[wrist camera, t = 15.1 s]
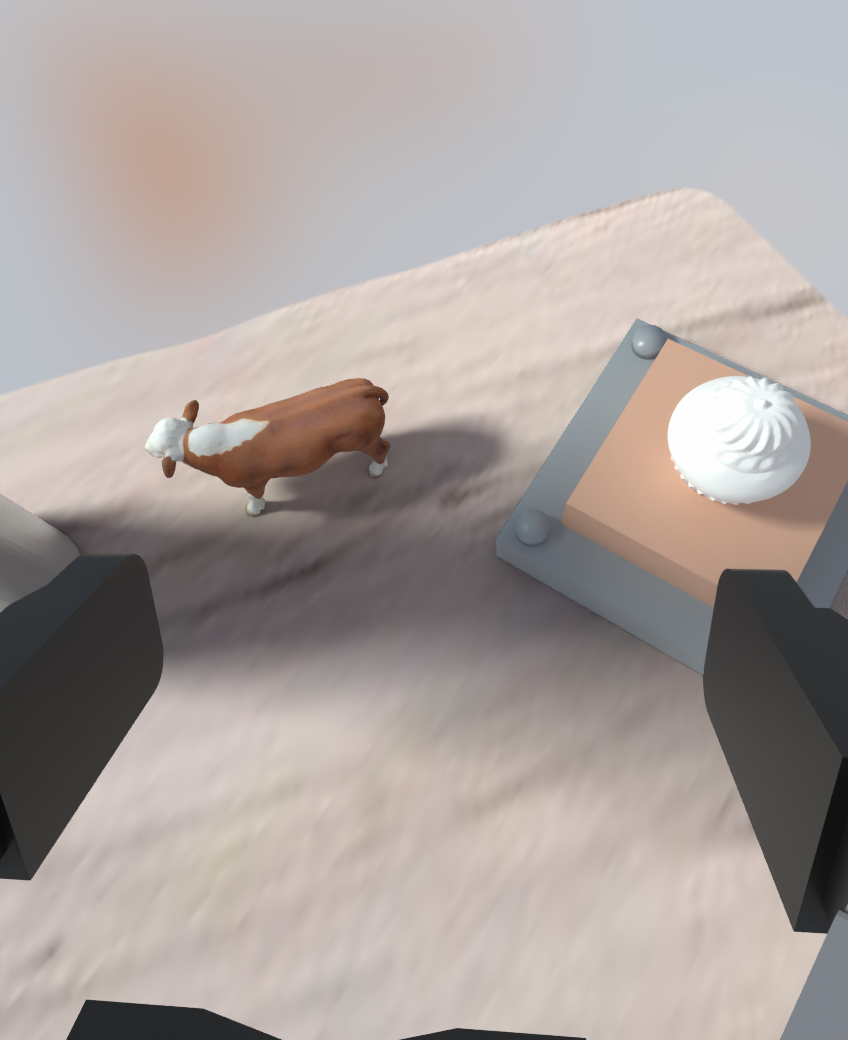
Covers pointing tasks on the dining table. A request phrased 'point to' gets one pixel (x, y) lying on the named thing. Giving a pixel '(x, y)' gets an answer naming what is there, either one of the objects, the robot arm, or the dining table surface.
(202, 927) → the dining table surface
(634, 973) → the dining table surface
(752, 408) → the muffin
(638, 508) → the grey pegged tray
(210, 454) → the bull figurine
